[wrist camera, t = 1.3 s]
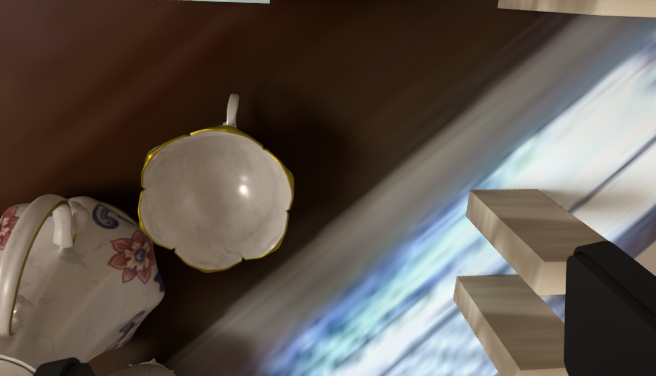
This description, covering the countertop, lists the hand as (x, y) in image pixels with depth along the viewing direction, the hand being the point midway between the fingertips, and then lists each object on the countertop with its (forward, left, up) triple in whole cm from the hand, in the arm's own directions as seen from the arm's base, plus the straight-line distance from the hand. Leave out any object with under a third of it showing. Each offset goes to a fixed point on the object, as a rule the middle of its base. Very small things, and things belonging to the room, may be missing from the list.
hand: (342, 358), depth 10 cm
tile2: (-7, -15, -23) cm, 28 cm away
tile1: (-14, -15, -23) cm, 31 cm away
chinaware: (-11, +10, -23) cm, 28 cm away
